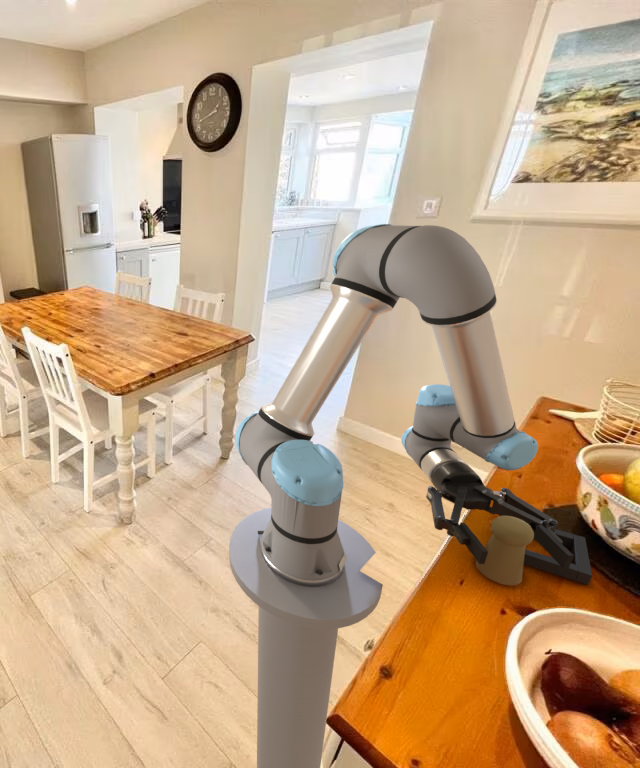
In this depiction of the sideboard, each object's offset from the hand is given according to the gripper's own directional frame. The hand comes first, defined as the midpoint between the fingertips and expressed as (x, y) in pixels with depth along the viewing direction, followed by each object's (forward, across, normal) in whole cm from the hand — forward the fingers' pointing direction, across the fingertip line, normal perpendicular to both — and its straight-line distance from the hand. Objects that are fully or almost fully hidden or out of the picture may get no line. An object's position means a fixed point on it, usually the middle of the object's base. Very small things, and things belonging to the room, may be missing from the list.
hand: (525, 559), depth 64 cm
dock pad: (-9, -10, -7) cm, 15 cm away
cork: (-4, 0, -7) cm, 8 cm away
